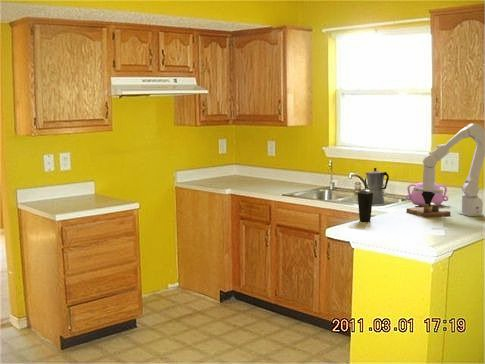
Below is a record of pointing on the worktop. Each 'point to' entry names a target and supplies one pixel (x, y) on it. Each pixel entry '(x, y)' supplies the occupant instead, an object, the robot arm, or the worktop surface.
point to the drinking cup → (365, 204)
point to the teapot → (418, 198)
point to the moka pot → (377, 185)
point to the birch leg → (434, 207)
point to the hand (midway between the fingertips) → (427, 207)
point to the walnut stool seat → (427, 212)
